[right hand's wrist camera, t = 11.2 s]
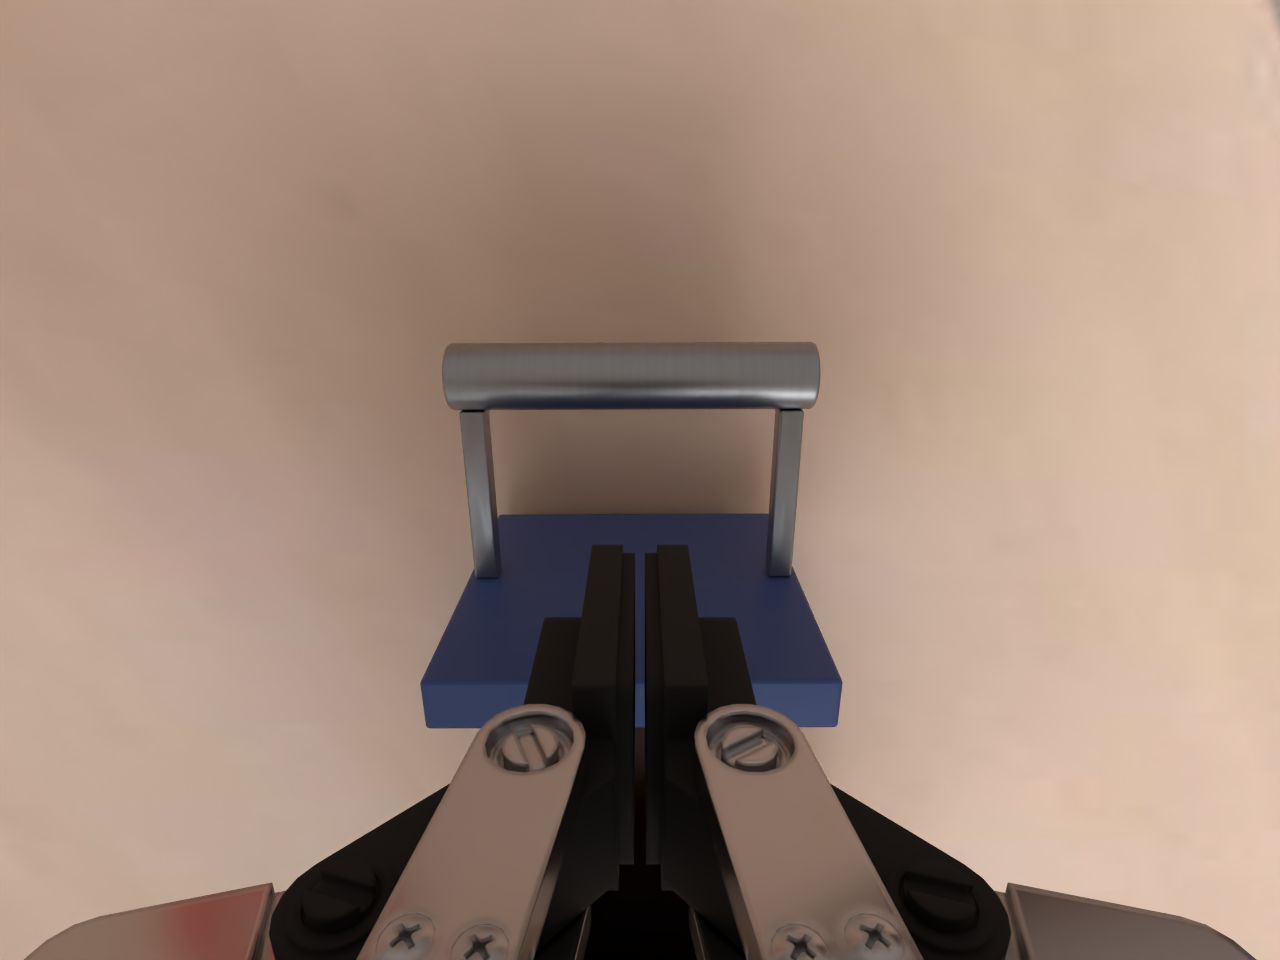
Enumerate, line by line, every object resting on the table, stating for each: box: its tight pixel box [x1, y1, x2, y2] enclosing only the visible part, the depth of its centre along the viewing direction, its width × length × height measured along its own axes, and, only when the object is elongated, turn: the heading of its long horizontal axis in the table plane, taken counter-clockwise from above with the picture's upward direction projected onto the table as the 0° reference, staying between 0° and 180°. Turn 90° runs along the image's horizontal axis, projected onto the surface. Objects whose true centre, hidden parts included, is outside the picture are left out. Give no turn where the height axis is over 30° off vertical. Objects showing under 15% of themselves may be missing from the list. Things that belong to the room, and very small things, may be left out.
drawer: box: [420, 342, 842, 960], centre depth 21 cm, size 26×9×9 cm, turn 0°
